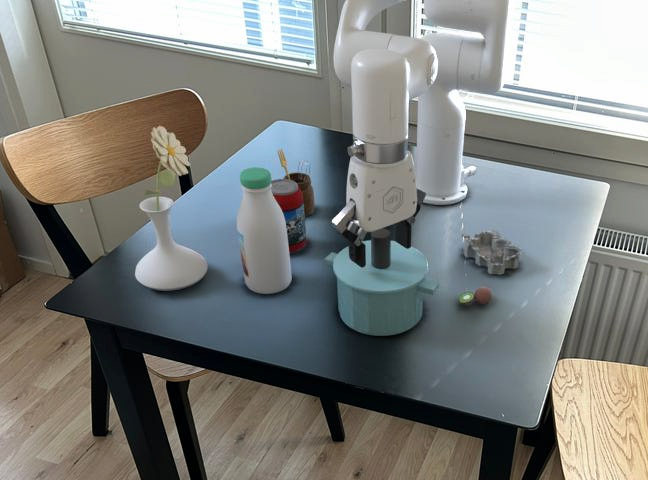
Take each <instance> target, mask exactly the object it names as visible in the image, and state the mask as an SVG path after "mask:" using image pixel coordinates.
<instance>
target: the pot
mask: <svg viewBox="0 0 648 480" xmlns="http://www.w3.org/2000/svg"><path fill="white" fill-rule="evenodd" d="M337 254H338V253H336V252H333V251H332V252H330V253H329V254H328V255H327V256H326V257H325V258H324V259H323V260H324V265H327V266H330V267H333V262H334V259H335V257H336V256H337ZM336 284H337V285H336V287H337V288H336V289H337V305H338V312H339V316H340V319H341V320H342V321H343V323H344V324H345V325H346V326H348V327H349V328H350V329H352V330H354V331H356V332H358V333H360V334H365V335H369V336H378V337H379V336H380V337H384V336H385V337H387V336H394V335H397V334H401V333H404V332H407V331H409V330H410V329H412V328H414V327H415V326H416V325H417V324H419V322H420V321H421V319H422V316H423V307H424V306H423V305H424V294H427V295H431V296H434V295H435V293H436V292H437V290H438V289H439V288H440V282H439V281H435V280H432V279H428V278H426V277H425V278H424V279H423V280H422V281H421V282H420V283H419V284H417V285H416V286H414V287H412V288H410V289H407V290H404V291H400V292H395V293H386V294H377V293H368V292H363V291H359V290H356V289H353V288H351V287H349V286H347V285H345V284H344V283H342V282H341V281H340V280H339V279H338V278H337V277H336Z"/></svg>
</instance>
